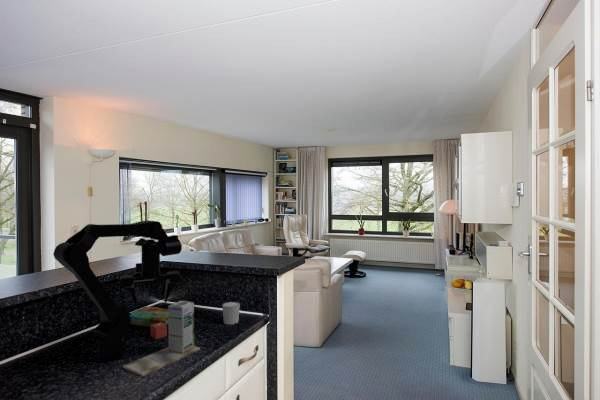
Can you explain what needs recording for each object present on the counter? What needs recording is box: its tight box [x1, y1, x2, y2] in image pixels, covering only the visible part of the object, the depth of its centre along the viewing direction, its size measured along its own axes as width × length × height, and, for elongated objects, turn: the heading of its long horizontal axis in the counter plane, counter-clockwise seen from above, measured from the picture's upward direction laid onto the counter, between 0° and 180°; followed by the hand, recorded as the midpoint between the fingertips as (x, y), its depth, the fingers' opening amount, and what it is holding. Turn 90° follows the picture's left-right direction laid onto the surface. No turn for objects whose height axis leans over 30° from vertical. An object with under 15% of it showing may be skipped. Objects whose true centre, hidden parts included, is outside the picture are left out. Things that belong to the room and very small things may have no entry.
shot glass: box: [221, 301, 241, 325], centre depth 144 cm, size 7×7×7 cm
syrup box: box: [167, 300, 195, 353], centre depth 117 cm, size 6×6×14 cm
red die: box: [150, 322, 168, 340], centre depth 129 cm, size 4×4×4 cm
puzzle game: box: [129, 305, 168, 328], centre depth 143 cm, size 12×5×20 cm
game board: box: [122, 345, 201, 377], centre depth 112 cm, size 21×9×1 cm, turn 148°
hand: (150, 304), depth 123 cm, fingers open, 9 cm apart
